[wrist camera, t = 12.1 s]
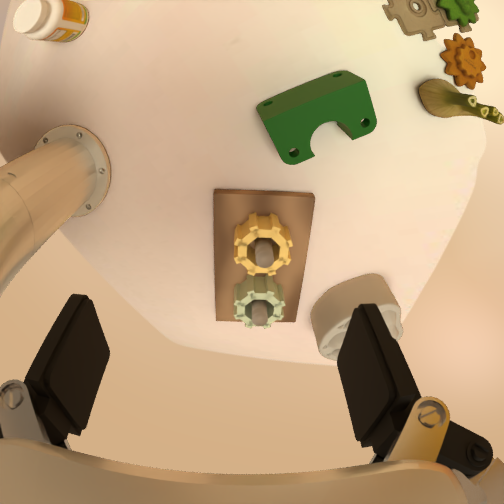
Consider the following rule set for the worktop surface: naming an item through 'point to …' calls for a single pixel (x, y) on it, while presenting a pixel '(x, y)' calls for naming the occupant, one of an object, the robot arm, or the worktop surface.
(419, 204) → the worktop surface
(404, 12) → the gear puzzle
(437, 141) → the worktop surface
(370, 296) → the lumpy-topped squat cylinder
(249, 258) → the mustard gear
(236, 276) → the gear board
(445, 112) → the fennel bulb
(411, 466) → the robot arm
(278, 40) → the worktop surface
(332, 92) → the clamp
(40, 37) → the supplement bottle
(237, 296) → the sage gear
